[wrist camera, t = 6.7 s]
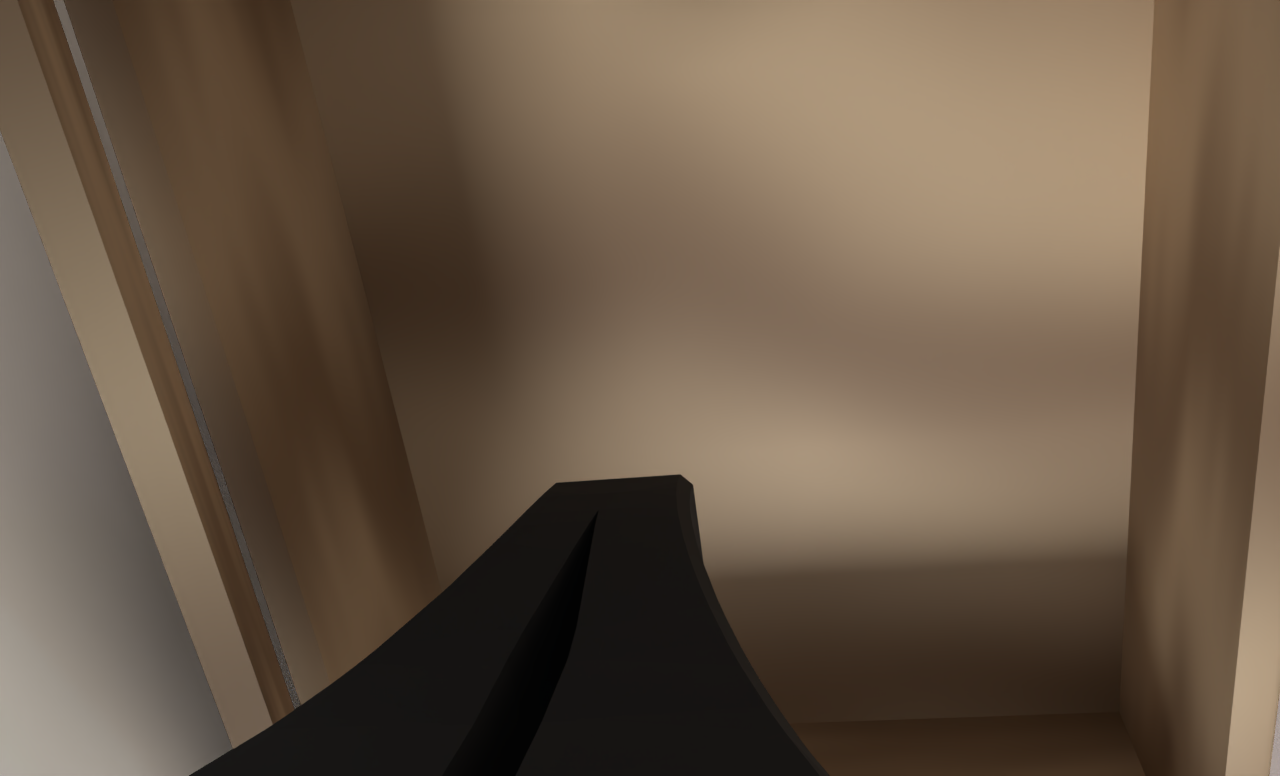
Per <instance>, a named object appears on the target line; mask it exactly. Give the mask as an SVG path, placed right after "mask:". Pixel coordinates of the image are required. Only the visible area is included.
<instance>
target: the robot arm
mask: <svg viewBox="0 0 1280 776" xmlns="http://www.w3.org/2000/svg"><path fill="white" fill-rule="evenodd" d="M189 776H830V775H829V774H828V773H827V772H826V770H825V769H824V768H823V767H822V766H821V765H820V763H819V762H818V761H817V760H816V759H815V757H814V756H813V755H812V754H811V753H810V751H809V750H808V749H807V747H806V746H805V745H804V743H803V742H802V741H801V739H800V738H799V736H798V735H797V734H796V732H795V731H794V729H793V728H792V727H791V725H790V724H789V723H788V721H787V720H786V718H785V717H784V716H783V714H782V713H781V711H780V710H779V708H778V707H777V705H776V704H775V702H774V701H773V699H772V698H771V696H770V695H769V693H768V691H767V690H766V688H765V687H764V685H763V684H762V682H761V681H760V679H759V677H758V676H757V674H756V672H755V671H754V669H753V667H752V666H751V664H750V662H749V660H748V658H747V657H746V655H745V653H744V651H743V650H742V648H741V646H740V644H739V642H738V640H737V638H736V636H735V634H734V632H733V630H732V628H731V626H730V624H729V622H728V620H727V619H726V617H725V614H724V612H723V610H722V608H721V606H720V603H719V601H718V599H717V597H716V594H715V592H714V589H713V587H712V584H711V581H710V579H709V576H708V574H707V571H706V569H705V566H704V563H703V555H702V548H701V540H700V533H699V525H698V518H697V510H696V503H695V495H694V488H693V484H692V483H690V482H689V481H688V480H687V479H686V478H684V477H683V476H682V475H681V474H677V475H662V476H648V477H633V478H618V479H603V480H589V481H574V482H559V483H555V484H554V485H553V486H552V487H551V488H549V489H548V490H547V491H546V492H545V493H544V494H543V495H542V496H541V497H540V498H539V499H538V500H537V501H536V502H535V503H534V504H533V505H531V506H530V507H529V508H528V509H527V510H526V511H525V512H524V513H523V514H522V515H521V516H520V517H519V518H518V519H517V520H516V521H515V522H514V523H513V524H512V525H511V526H510V527H509V528H508V529H507V530H506V531H505V532H504V533H503V534H502V535H501V536H500V537H499V538H498V539H497V540H496V541H495V542H494V543H493V544H492V545H491V546H490V547H489V548H488V549H487V550H486V551H485V552H484V553H483V554H482V555H481V556H480V557H479V558H478V559H477V560H476V561H475V562H474V563H473V564H471V565H470V566H469V567H468V568H467V569H466V570H465V571H464V572H463V573H462V574H461V575H460V576H459V577H458V578H457V579H456V580H455V581H454V582H453V583H452V584H451V585H450V586H449V587H447V588H446V589H445V590H444V591H443V592H442V593H441V594H440V595H438V596H437V597H436V598H435V599H434V600H433V601H431V602H430V603H429V604H428V605H427V606H426V607H425V608H423V609H422V610H421V611H420V612H419V613H418V614H416V615H415V616H414V617H413V618H412V619H411V620H409V621H408V622H407V623H406V624H405V625H404V626H403V627H401V628H400V629H399V630H398V631H397V632H396V633H394V634H393V635H392V636H391V637H390V638H389V639H387V640H386V641H385V642H384V643H383V644H382V645H381V646H379V647H378V648H377V649H376V650H375V651H373V652H372V653H371V654H370V655H368V656H367V657H366V658H365V659H363V660H362V661H361V662H359V663H358V664H357V665H356V666H354V667H353V668H352V669H350V670H349V671H348V672H346V673H345V674H344V675H342V676H341V677H340V678H338V679H337V680H336V681H334V682H333V683H332V684H330V685H329V686H328V687H326V688H325V689H323V690H322V691H320V692H319V693H318V694H316V695H315V696H313V697H312V698H311V699H309V700H308V701H306V702H305V703H303V704H302V705H301V706H299V707H298V708H296V709H295V710H294V711H292V712H291V713H289V714H288V715H286V716H285V717H283V718H282V719H280V720H279V721H277V722H276V723H274V724H273V725H271V726H270V727H268V728H267V729H265V730H264V731H262V732H260V733H259V734H257V735H255V736H254V737H252V738H251V739H249V740H247V741H246V742H244V743H242V744H241V745H239V746H237V747H236V748H234V749H232V750H231V751H229V752H227V753H226V754H224V755H222V756H221V757H219V758H217V759H216V760H214V761H212V762H211V763H209V764H207V765H206V766H204V767H203V768H201V769H199V770H198V771H196V772H194V773H193V774H191V775H189Z"/></svg>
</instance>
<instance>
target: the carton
mask: <svg viewBox="0 0 1280 776" xmlns="http://www.w3.org/2000/svg"><path fill="white" fill-rule="evenodd" d="M64 2H65V5H66V8H67V11H68V14H69V17H70V20H71V23H72V26H73V29H74V32H75V35H76V38H77V41H78V44H79V47H80V50H81V53H82V56H83V59H84V62H85V65H86V68H87V71H88V74H89V77H90V80H91V83H92V86H93V89H94V92H95V95H96V98H97V101H98V104H99V107H100V109H101V112H102V115H103V118H104V121H105V124H106V127H107V130H108V133H109V136H110V139H111V142H112V145H113V148H114V151H115V154H116V157H117V160H118V163H119V166H120V169H121V172H122V175H123V178H124V181H125V184H126V187H127V190H128V193H129V196H130V199H131V202H132V205H133V208H134V211H135V214H136V217H137V219H138V222H139V225H140V228H141V231H142V234H143V237H144V240H145V243H146V246H147V249H148V252H149V255H150V258H151V261H152V264H153V267H154V270H155V273H156V276H157V279H158V282H159V285H160V288H161V291H162V294H163V297H164V300H165V303H166V306H167V309H168V312H169V315H170V318H171V321H172V324H173V327H174V329H175V332H176V335H177V338H178V341H179V344H180V347H181V350H182V353H183V356H184V359H185V362H186V365H187V368H188V371H189V374H190V377H191V380H192V383H193V386H194V389H195V392H196V395H197V398H198V401H199V404H200V407H201V410H202V413H203V416H204V419H205V422H206V425H207V428H208V431H209V434H210V437H211V439H212V442H213V445H214V448H215V451H216V454H217V457H218V460H219V463H220V466H221V469H222V472H223V475H224V478H225V481H226V484H227V487H228V490H229V493H230V496H231V499H232V502H233V505H234V508H235V511H236V514H237V517H238V520H239V523H240V526H241V529H242V532H243V535H244V538H245V541H246V544H247V547H248V550H249V552H250V555H251V558H252V561H253V564H254V567H255V570H256V573H257V576H258V579H259V582H260V585H261V588H262V591H263V594H264V597H265V600H266V603H267V606H268V609H269V612H270V615H271V618H272V621H273V624H274V627H275V630H276V633H277V636H278V639H279V642H280V645H281V648H282V651H283V654H284V657H285V660H286V662H287V665H288V668H289V671H290V674H291V677H292V680H293V683H294V686H295V689H296V692H297V695H298V698H299V701H300V704H301V705H302V704H303V703H305V702H306V701H308V700H309V699H311V698H312V697H313V696H315V695H316V694H318V693H319V692H320V691H322V690H323V689H325V688H326V687H328V686H329V685H330V684H332V683H333V682H334V681H336V680H337V679H338V678H340V677H341V676H342V675H344V674H345V673H346V672H348V671H349V670H350V669H352V668H353V667H354V666H356V665H357V664H358V663H359V662H361V661H362V660H363V659H365V658H366V657H367V656H368V655H370V654H371V653H372V652H373V651H375V650H376V649H377V648H378V647H379V646H381V645H382V644H383V643H384V642H385V641H386V640H387V639H389V638H390V637H391V636H392V635H393V634H394V633H396V632H397V631H398V630H399V629H400V628H401V627H403V626H404V625H405V624H406V623H407V622H408V621H409V620H411V619H412V618H413V617H414V616H415V615H416V614H418V613H419V612H420V611H421V610H422V609H423V608H425V607H426V606H427V605H428V604H429V603H430V602H431V601H433V600H434V599H435V598H436V597H437V596H438V595H440V594H441V593H442V592H443V591H444V590H445V589H446V588H447V587H449V586H450V585H451V584H452V583H453V582H454V581H455V580H456V579H457V578H458V577H459V576H460V575H461V574H462V573H463V572H464V571H465V570H466V569H467V568H468V567H469V566H470V565H471V564H473V563H474V562H475V561H476V560H477V559H478V558H479V557H480V556H481V555H482V554H483V553H484V552H485V551H486V550H487V549H488V548H489V547H490V546H491V545H492V544H493V543H494V542H495V541H496V540H497V539H498V538H499V537H500V536H501V535H502V534H503V533H504V532H505V531H506V530H507V529H508V528H509V527H510V526H511V525H512V524H513V523H514V522H515V521H516V520H517V519H518V518H519V517H520V516H521V515H522V514H523V513H524V512H525V511H526V510H527V509H528V508H529V507H530V506H531V505H533V504H534V503H535V502H536V501H537V500H538V499H539V498H540V497H541V496H542V495H543V494H544V493H545V492H546V491H547V490H548V489H549V488H551V487H552V486H553V485H554V484H555V483H559V482H574V481H589V480H603V479H618V478H633V477H648V476H662V475H677V474H681V475H682V476H683V477H684V478H686V479H687V480H688V481H689V482H690V483H692V484H693V488H694V495H695V503H696V510H697V518H698V525H699V533H700V540H701V548H702V555H703V563H704V566H705V569H706V571H707V574H708V576H709V579H710V581H711V584H712V587H713V589H714V592H715V594H716V597H717V599H718V601H719V603H720V606H721V608H722V610H723V612H724V614H725V617H726V619H727V620H728V622H729V624H730V626H731V628H732V630H733V632H734V634H735V636H736V638H737V640H738V642H739V644H740V646H741V648H742V650H743V651H744V653H745V655H746V657H747V658H748V660H749V662H750V664H751V666H752V667H753V669H754V671H755V672H756V674H757V676H758V677H759V679H760V681H761V682H762V684H763V685H764V687H765V688H766V690H767V691H768V693H769V695H770V696H771V698H772V699H773V701H774V702H775V704H776V705H777V707H778V708H779V710H780V711H781V713H782V714H783V716H784V717H785V718H786V720H787V721H788V723H789V724H790V725H791V727H792V728H793V729H794V731H795V732H796V734H797V735H798V736H799V738H800V739H801V741H802V742H803V743H804V745H805V746H806V747H807V749H808V750H809V751H810V753H811V754H812V755H813V756H814V757H815V759H816V760H817V761H818V762H819V763H820V765H821V766H822V767H823V768H824V769H825V770H826V772H827V773H828V774H829V775H830V776H1269V774H1270V766H1271V758H1272V750H1273V742H1274V734H1275V725H1276V717H1277V709H1278V701H1279V693H1280V0H64Z"/></svg>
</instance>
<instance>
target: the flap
mask: <svg viewBox="0 0 1280 776" xmlns="http://www.w3.org/2000/svg"><path fill="white" fill-rule="evenodd" d="M0 131H1V134H2V136H3V139H4V142H5V144H6V147H7V150H8V152H9V155H10V158H11V160H12V163H13V165H14V168H15V171H16V173H17V176H18V179H19V181H20V184H21V187H22V189H23V192H24V195H25V197H26V200H27V203H28V205H29V208H30V211H31V213H32V216H33V219H34V221H35V224H36V227H37V229H38V232H39V235H40V237H41V240H42V243H43V245H44V248H45V251H46V253H47V256H48V259H49V261H50V264H51V267H52V269H53V272H54V275H55V277H56V280H57V282H58V285H59V288H60V290H61V293H62V296H63V298H64V301H65V304H66V306H67V309H68V312H69V314H70V317H71V320H72V322H73V325H74V328H75V330H76V333H77V336H78V338H79V341H80V344H81V346H82V349H83V352H84V354H85V357H86V360H87V362H88V365H89V368H90V370H91V373H92V376H93V378H94V381H95V384H96V386H97V389H98V391H99V394H100V397H101V399H102V402H103V405H104V407H105V410H106V413H107V415H108V418H109V421H110V423H111V426H112V429H113V431H114V434H115V437H116V439H117V442H118V445H119V447H120V450H121V453H122V455H123V458H124V461H125V463H126V466H127V469H128V471H129V474H130V477H131V479H132V482H133V485H134V487H135V490H136V493H137V495H138V498H139V501H140V503H141V506H142V508H143V511H144V514H145V516H146V519H147V522H148V524H149V527H150V530H151V532H152V535H153V538H154V540H155V543H156V546H157V548H158V551H159V554H160V556H161V559H162V562H163V564H164V567H165V570H166V572H167V575H168V578H169V580H170V583H171V586H172V588H173V591H174V594H175V596H176V599H177V602H178V604H179V607H180V610H181V612H182V615H183V617H184V620H185V623H186V625H187V628H188V631H189V633H190V636H191V639H192V641H193V644H194V647H195V649H196V652H197V655H198V657H199V660H200V663H201V665H202V668H203V671H204V673H205V676H206V679H207V681H208V684H209V687H210V689H211V692H212V695H213V697H214V700H215V703H216V705H217V708H218V711H219V713H220V716H221V719H222V721H223V724H224V727H225V729H226V732H227V734H228V737H229V740H230V742H231V745H232V748H233V749H234V748H236V747H237V746H239V745H241V744H242V743H244V742H246V741H247V740H249V739H251V738H252V737H254V736H255V735H257V734H259V733H260V732H262V731H264V730H265V729H267V728H268V727H270V726H271V725H273V724H274V723H276V722H277V721H279V720H280V719H282V718H283V717H285V716H286V715H288V714H289V713H291V712H292V711H294V707H293V704H292V701H291V698H290V695H289V692H288V689H287V686H286V683H285V680H284V677H283V675H282V672H281V669H280V666H279V663H278V660H277V657H276V654H275V651H274V648H273V645H272V642H271V639H270V636H269V633H268V630H267V627H266V625H265V622H264V619H263V616H262V613H261V610H260V607H259V604H258V601H257V598H256V595H255V592H254V589H253V586H252V583H251V580H250V577H249V575H248V572H247V569H246V566H245V563H244V560H243V557H242V554H241V551H240V548H239V545H238V542H237V539H236V536H235V533H234V530H233V527H232V525H231V522H230V519H229V516H228V513H227V510H226V507H225V504H224V501H223V498H222V495H221V492H220V489H219V486H218V483H217V480H216V478H215V475H214V472H213V469H212V466H211V463H210V460H209V457H208V454H207V451H206V448H205V445H204V442H203V439H202V436H201V433H200V430H199V428H198V425H197V422H196V419H195V416H194V413H193V410H192V407H191V404H190V401H189V398H188V395H187V392H186V389H185V386H184V383H183V380H182V378H181V375H180V372H179V369H178V366H177V363H176V360H175V357H174V354H173V351H172V348H171V345H170V342H169V339H168V336H167V333H166V330H165V328H164V325H163V322H162V319H161V316H160V313H159V310H158V307H157V304H156V301H155V298H154V295H153V292H152V289H151V286H150V283H149V280H148V278H147V275H146V272H145V269H144V266H143V263H142V260H141V257H140V254H139V251H138V248H137V245H136V242H135V239H134V236H133V233H132V231H131V228H130V225H129V222H128V219H127V216H126V213H125V210H124V207H123V204H122V201H121V198H120V195H119V192H118V189H117V186H116V183H115V181H114V178H113V175H112V172H111V169H110V166H109V163H108V160H107V157H106V154H105V151H104V148H103V145H102V142H101V139H100V136H99V133H98V131H97V128H96V125H95V122H94V119H93V116H92V113H91V110H90V107H89V104H88V101H87V98H86V95H85V92H84V89H83V86H82V83H81V81H80V78H79V75H78V72H77V69H76V66H75V63H74V60H73V57H72V54H71V51H70V48H69V45H68V42H67V39H66V36H65V33H64V31H63V28H62V25H61V22H60V19H59V16H58V13H57V10H56V7H55V4H54V1H53V0H0Z"/></svg>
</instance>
